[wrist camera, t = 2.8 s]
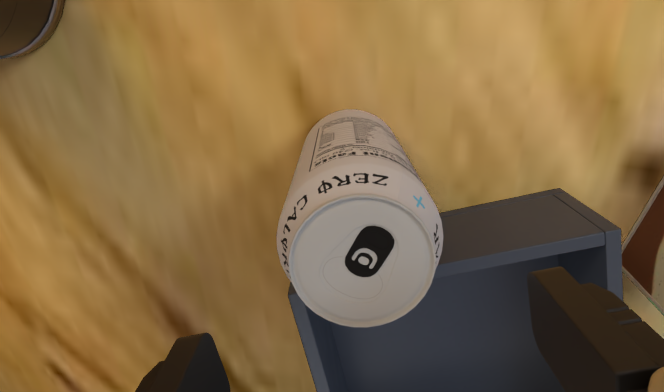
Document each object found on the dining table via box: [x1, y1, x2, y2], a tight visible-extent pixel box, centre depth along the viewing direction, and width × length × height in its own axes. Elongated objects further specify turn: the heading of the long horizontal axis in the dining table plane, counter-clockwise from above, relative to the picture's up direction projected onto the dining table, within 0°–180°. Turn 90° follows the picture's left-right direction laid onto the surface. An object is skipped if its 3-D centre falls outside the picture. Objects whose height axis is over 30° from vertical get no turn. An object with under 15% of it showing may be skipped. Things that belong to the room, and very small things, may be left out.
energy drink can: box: [276, 109, 443, 327], centre depth 22 cm, size 6×6×15 cm
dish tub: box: [288, 188, 623, 392], centre depth 30 cm, size 18×18×7 cm
